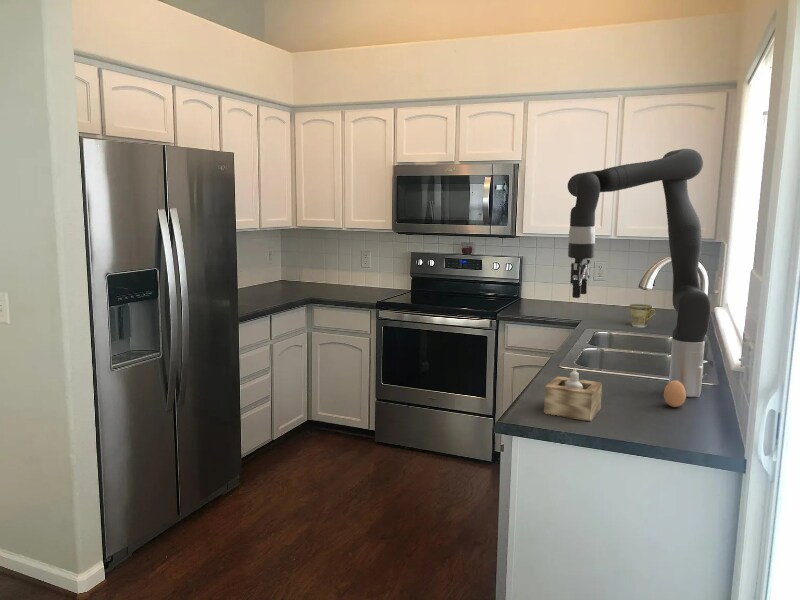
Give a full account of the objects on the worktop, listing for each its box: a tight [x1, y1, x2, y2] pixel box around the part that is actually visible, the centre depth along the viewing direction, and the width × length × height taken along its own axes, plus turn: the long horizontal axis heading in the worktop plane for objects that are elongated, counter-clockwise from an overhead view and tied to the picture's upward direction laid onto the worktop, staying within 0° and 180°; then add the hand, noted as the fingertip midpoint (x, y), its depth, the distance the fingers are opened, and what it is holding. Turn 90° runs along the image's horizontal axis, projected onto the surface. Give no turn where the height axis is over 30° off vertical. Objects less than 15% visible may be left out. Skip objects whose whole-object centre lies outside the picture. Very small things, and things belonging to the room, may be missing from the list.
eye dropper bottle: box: [565, 367, 583, 389], centre depth 184 cm, size 4×6×12 cm
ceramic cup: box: [629, 303, 657, 328], centre depth 307 cm, size 13×10×10 cm
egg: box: [663, 380, 687, 408], centre depth 190 cm, size 6×6×8 cm
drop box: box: [543, 375, 603, 423], centre depth 185 cm, size 13×12×8 cm
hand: (579, 295), depth 194 cm, fingers open, 8 cm apart
